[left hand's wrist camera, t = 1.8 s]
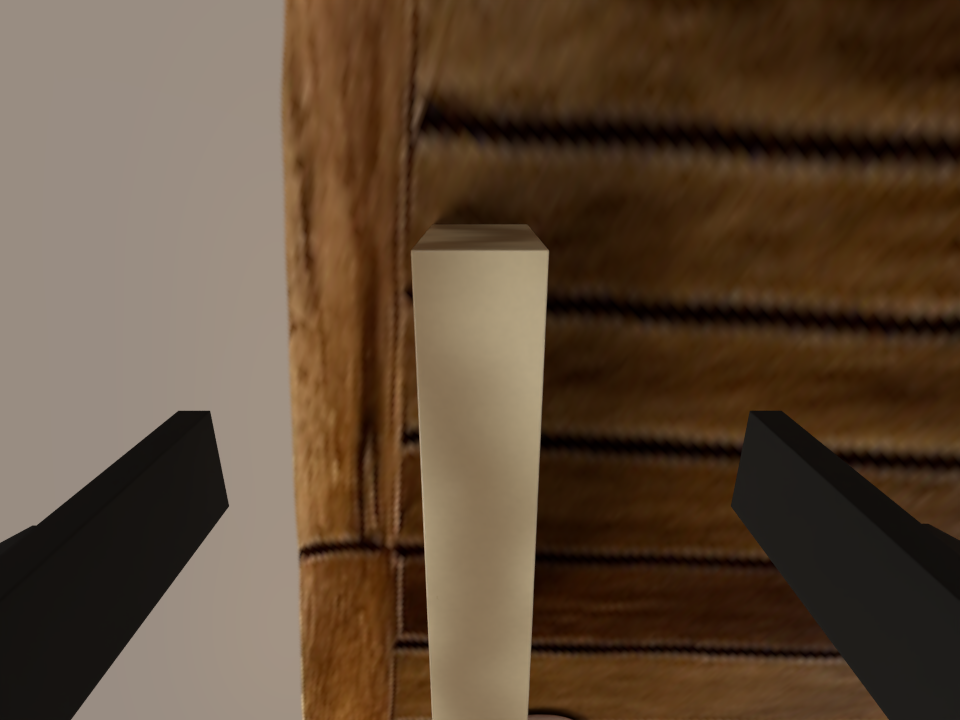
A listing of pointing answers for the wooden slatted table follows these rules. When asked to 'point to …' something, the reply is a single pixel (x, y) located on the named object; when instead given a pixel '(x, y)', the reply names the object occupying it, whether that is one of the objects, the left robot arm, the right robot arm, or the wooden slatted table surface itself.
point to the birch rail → (480, 458)
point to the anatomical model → (546, 717)
